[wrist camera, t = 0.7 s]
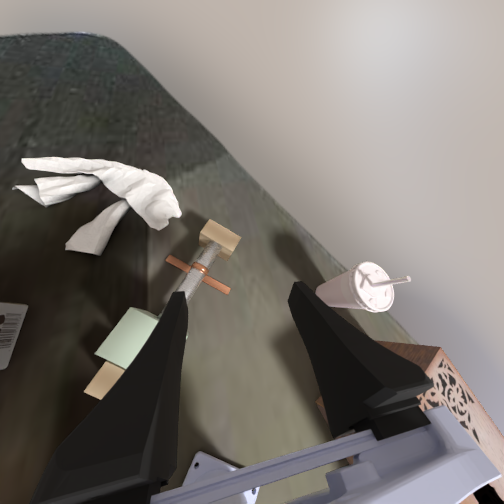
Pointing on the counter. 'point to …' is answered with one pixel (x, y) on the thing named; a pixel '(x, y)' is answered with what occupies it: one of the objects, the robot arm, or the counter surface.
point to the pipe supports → (209, 232)
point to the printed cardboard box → (10, 329)
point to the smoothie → (360, 288)
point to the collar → (128, 337)
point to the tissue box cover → (453, 411)
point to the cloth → (114, 178)
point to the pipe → (198, 271)
